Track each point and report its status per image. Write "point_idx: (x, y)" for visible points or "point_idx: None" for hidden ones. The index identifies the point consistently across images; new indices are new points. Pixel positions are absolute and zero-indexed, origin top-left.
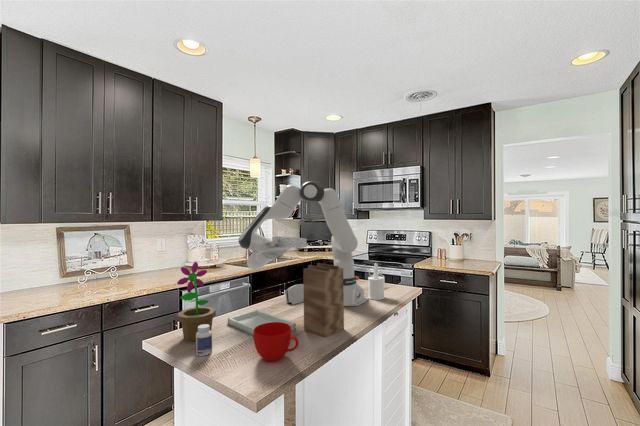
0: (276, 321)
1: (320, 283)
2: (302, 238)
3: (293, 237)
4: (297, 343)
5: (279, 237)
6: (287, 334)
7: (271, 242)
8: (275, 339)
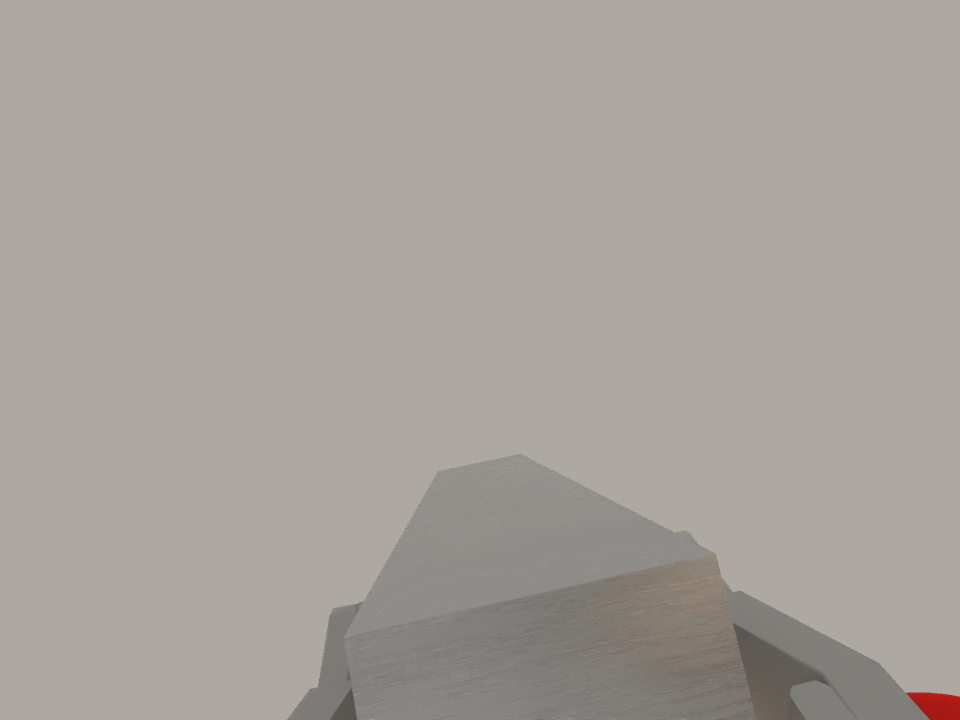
0: None
1: None
2: (461, 468)
3: (427, 494)
4: None
5: (592, 492)
6: None
7: (834, 653)
8: (929, 707)
